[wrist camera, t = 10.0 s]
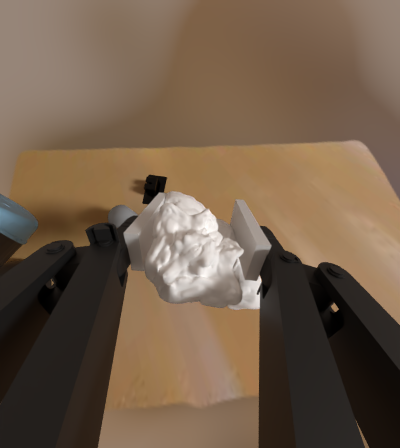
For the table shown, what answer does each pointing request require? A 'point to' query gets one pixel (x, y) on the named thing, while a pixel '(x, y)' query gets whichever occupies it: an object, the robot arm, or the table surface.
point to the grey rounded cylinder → (120, 214)
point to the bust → (197, 258)
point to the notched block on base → (153, 187)
